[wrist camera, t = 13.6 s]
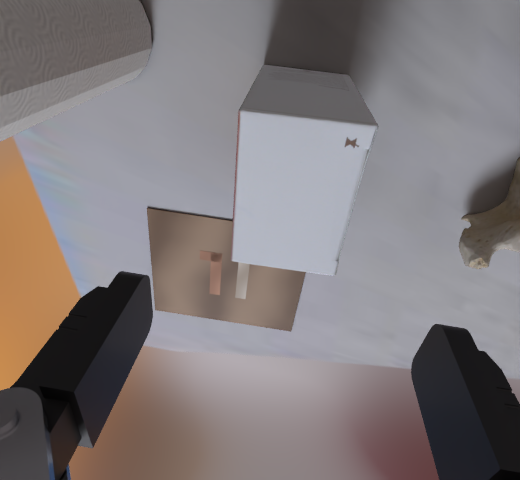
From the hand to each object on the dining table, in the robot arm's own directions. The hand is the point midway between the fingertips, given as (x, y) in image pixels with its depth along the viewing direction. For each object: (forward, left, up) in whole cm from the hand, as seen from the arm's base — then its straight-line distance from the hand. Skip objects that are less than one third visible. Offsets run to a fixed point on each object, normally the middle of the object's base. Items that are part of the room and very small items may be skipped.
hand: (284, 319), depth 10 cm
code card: (+4, +14, -17) cm, 23 cm away
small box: (0, 0, -18) cm, 18 cm away
